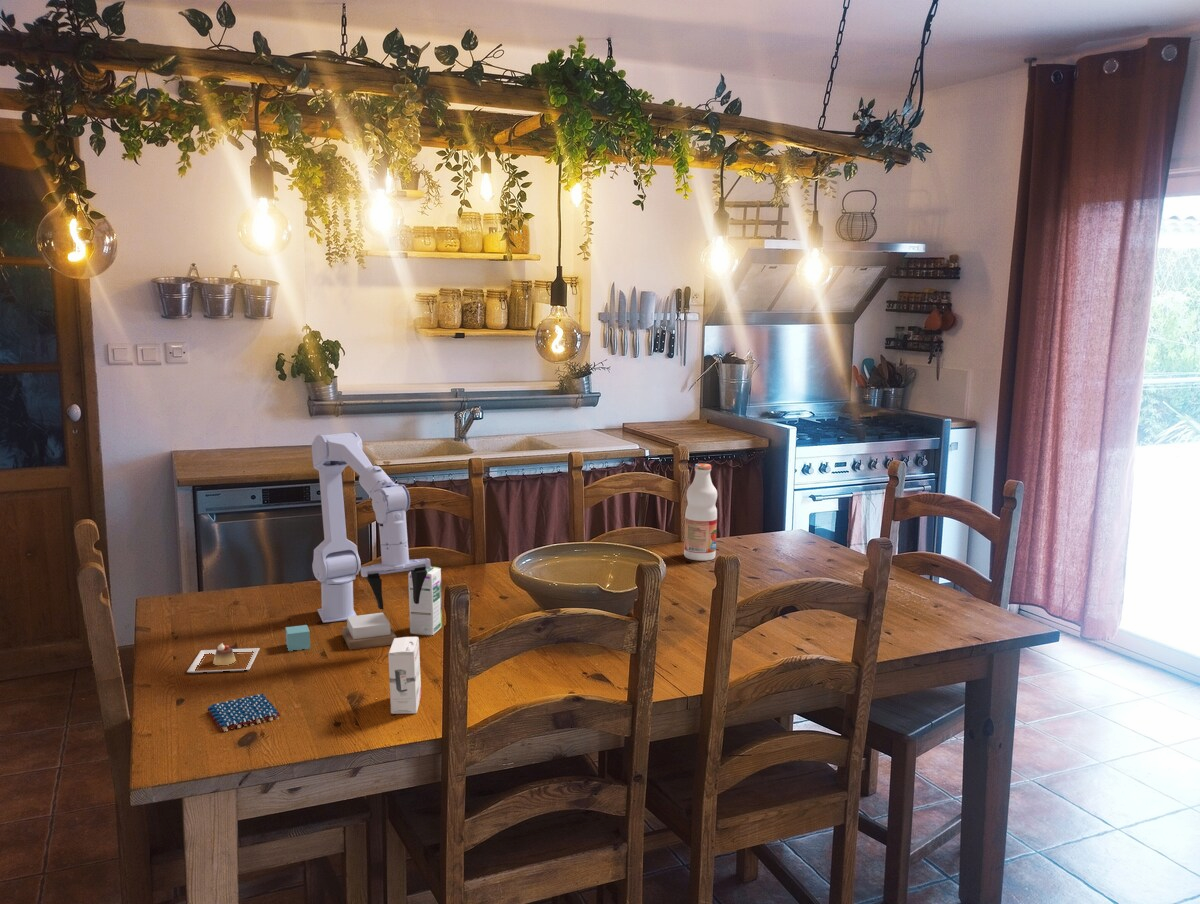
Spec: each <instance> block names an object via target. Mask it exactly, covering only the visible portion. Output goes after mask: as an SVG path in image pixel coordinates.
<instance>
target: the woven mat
mask: <svg viewBox="0 0 1200 904" xmlns="http://www.w3.org/2000/svg"><path fill="white" fill-rule="evenodd" d="M207 713H208V715H210V716H211V718H212V721H214V722H215V724H216V725H217V727H218V728H219V731H220V732H222V731H223V732H224V733H226V732H228V731H229V730H231V729H230V728H233V727H234V728H235V727H236V726H237V727H236V728H237V729H238V728H240V729H241V728H242V726H243V725H244V726H246V725H247V726H248V725H250V726H251V727H253V726H252V725H254V726H255V724H256V723H257V725H260V724H261V723H263V722H262V721H264V723H266V722H267V720H268V721H269V722H272V721H273V720H274V719H275V720H276V719H277V720H280V717H281V713H280V712H279V711H278V709H277V708H275V706H274V705H273V704H272V703H271V702H270V700H269V698H267V696H265V695H264V693H263V692H262V693H260V694H254V695H250V696H245V697H242V698H241V697H239V698H237V699H233V700H232V699H231V700H228V701H222V702H219V703H213V704H212V705H210V706H207ZM254 720H255V721H254ZM249 723H250V724H249ZM259 723H260V724H259ZM242 724H243V725H242ZM221 728H222V729H221ZM225 731H226V732H225Z"/></svg>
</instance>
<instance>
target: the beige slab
mask: <svg viewBox="0 0 1200 904" xmlns="http://www.w3.org/2000/svg"><path fill="white" fill-rule="evenodd" d="M341 631H342V637H343V639H344V642H345V643H346V645H347V647H348V650H350V651H352V649H354V650H360V649H361V648H362V649H368V648H376V647H385V646H391V645H392V643H393V640H394V638H397V635H396V634H395V632H394V630H393V629H392V627H391V626H390V633H391V635H383V636H376V637H368V638H361V639H353V638H352V636H351V634H350V632H349V630H348V628H347V625H346V626H342V630H341Z"/></svg>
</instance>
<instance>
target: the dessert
mask: <svg viewBox="0 0 1200 904" xmlns="http://www.w3.org/2000/svg"><path fill="white" fill-rule="evenodd" d="M229 646H230V645H228V644H224V642H222V643H220V644H218V646H217V649H202V650H201V649H200V650H199V653H198V654H197V656H196V657H195V658H194V660H193V662H192V663H191V665H190V666H189V668H188V669H187V670H186V673H189V674H190V673H191V674H202V673H203V672H207V673H224V672H223V671H230V672H245V671H244V670H247V671H250V669H251V667H252V666H253V663H254V662H255V659H256V657H257V655H258V653H259V652H260V649H261V648H260V647H253V648H232V647H229ZM252 651H253V652H254V653H252V654H253V655H252V654H251V656H252V657H251V656H250V658H251V659H250V658H249V659H250V661H249V660H248V661H249V663H248V662H247V663H248V665H247V664H246V665H247V667H246V666H245V667H246V669H245V668H239V669H238V668H236V669H214V670H196V671H195V669H196V667H197V665H199V663H200V661H201V659H202V658H203V656H204V654H209V653H210V654H211V653H212V654H214V657H213V661H212V665H213V664H215V665H228V666H230V665H229V664H232V663H234V662H235V661H236V662H237V660H236V656H235V654H234V653H233V652H252ZM236 662H235V663H236ZM235 663H234V664H235ZM200 664H201V663H200ZM215 665H214V666H215ZM232 665H233V664H232ZM199 666H200V665H199ZM203 674H204V673H203Z"/></svg>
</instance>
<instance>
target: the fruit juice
mask: <svg viewBox="0 0 1200 904" xmlns="http://www.w3.org/2000/svg"><path fill="white" fill-rule="evenodd" d="M711 471H712V465H711V464H709V463H695V464H694V472H695V474H694V477H693V481H692V483H691V484H690V485H689V486H688V488H687V490H686V499H687V506H686V508H685V514H684V515H685V516H684V541H683V542H684V544H683V555H684V557H685V558H686V559H689V560H692V561H701V562H703V561H711V560H714V559H715V558H716V555H717V554H716V553H717V551H716V550H717V529H718V528H717V525H718V508H717V507H716V505H717V504H716V503H717V499H718V490H717V489H716V487H715V486H714V484H713V482H712V481H713V480H712V477H711Z"/></svg>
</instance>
